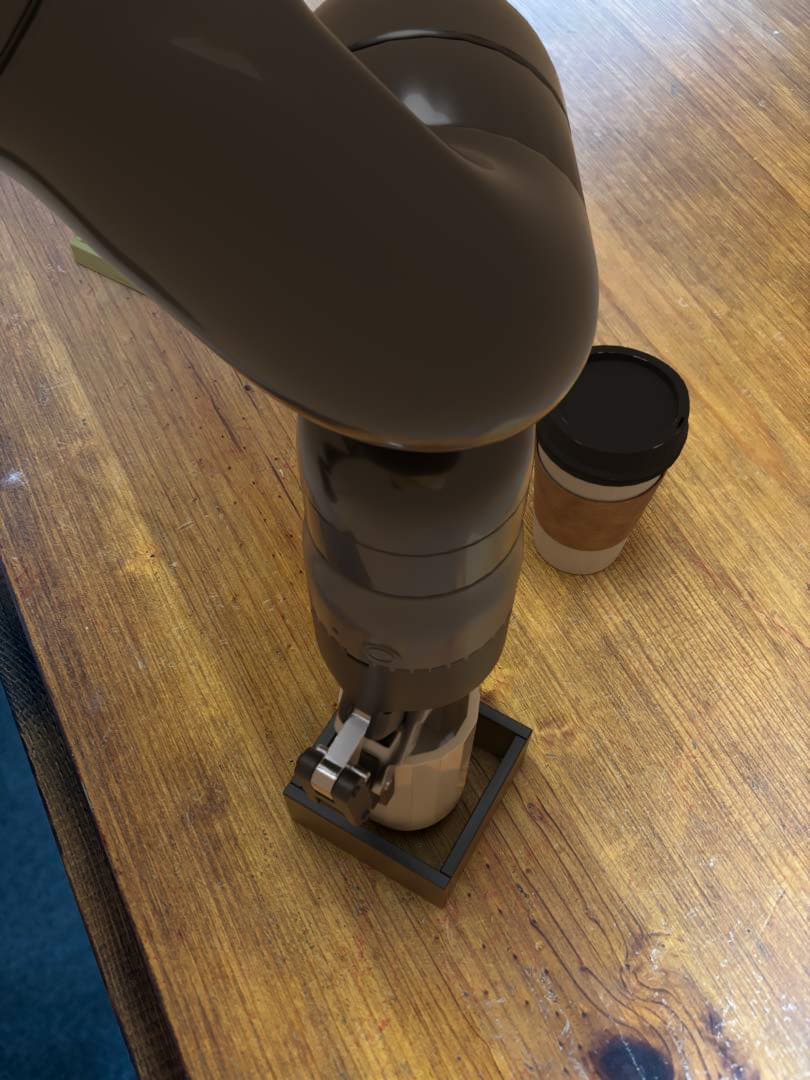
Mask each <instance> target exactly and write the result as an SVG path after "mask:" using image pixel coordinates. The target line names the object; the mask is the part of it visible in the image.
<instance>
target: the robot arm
mask: <svg viewBox="0 0 810 1080" xmlns="http://www.w3.org/2000/svg"><path fill="white" fill-rule="evenodd" d="M562 88H563V87H562V85H561V81H560V78H559V75H558V72H557V70H556V67H555V65H554V63H553V61H552V59H551V57H550V54H549V53H548V50H547V48H546V47H545V45H544V43H543V41H542V40H541V38H540V36H539V34H538V33H537V31H536V30H535V29H534V28H533V26H532V25H531V24H530V23H529V21H528V20H527V19H526V18H525V16H524V15H522V13H521V12H520V11H519V10H518V9H517V8H516V7H514V6H513V5H512V4H511V3H510V2H509V1H508V0H323V2H321V3H320V4H319V5H318V6H317V7H316V8H315V9H314V10H312V9H311V8H310V7H309V6H308V4H307V3H306V2H305V0H0V172H1V173H3V174H5V175H6V176H7V177H9V178H11V179H12V180H14V181H16V182H17V183H18V184H20V186H22V187H23V188H24V189H25V190H27V191H28V192H29V193H30V194H31V195H32V196H34V197H35V198H36V199H37V200H38V201H39V202H40V203H41V204H42V205H44V206H45V207H46V208H47V210H49V211H50V212H52V213H53V214H54V215H55V216H56V218H58V219H59V220H60V221H61V222H62V223H63V224H64V225H65V226H66V227H68V228H69V229H70V230H71V231H72V232H73V233H74V234H75V235H76V236H78V237H79V238H80V239H81V240H82V241H83V242H84V243H85V244H87V245H88V246H89V247H90V248H91V249H92V250H93V251H94V252H95V253H96V254H97V255H98V256H100V257H101V258H102V259H103V260H104V261H105V262H106V263H107V264H108V265H110V266H111V267H112V268H113V269H114V270H115V271H117V272H118V273H119V274H120V275H121V276H123V277H124V278H125V279H126V280H128V281H129V282H130V283H131V284H133V285H134V286H135V287H136V288H138V289H139V290H140V291H141V292H143V293H144V294H145V295H144V294H143V295H144V296H146V297H147V298H149V299H150V300H151V301H152V302H154V304H156V305H157V306H158V307H159V308H160V309H162V311H164V312H165V313H166V314H167V315H169V316H170V317H171V319H173V320H175V322H177V323H178V324H179V325H180V326H182V328H184V329H185V330H186V331H187V332H189V333H190V334H191V335H192V336H193V337H195V338H196V339H197V340H198V341H199V342H200V343H202V345H204V346H205V347H206V348H208V349H209V350H210V351H211V352H212V353H213V354H215V355H216V356H217V357H218V358H219V359H221V360H222V361H223V362H224V363H225V364H227V365H228V366H229V367H230V368H231V369H233V371H235V372H236V373H237V374H239V375H240V376H241V377H243V378H244V379H245V380H247V382H250V383H251V384H252V385H253V386H255V387H256V388H257V389H258V390H260V391H261V392H263V393H264V394H265V395H267V396H268V397H270V398H271V399H273V400H274V401H275V402H277V403H279V404H280V405H282V406H284V407H286V408H288V409H289V410H291V411H292V412H293V413H295V414H296V421H295V424H296V425H295V426H296V427H295V449H296V450H295V451H296V462H297V469H298V475H299V481H300V488H301V494H302V502H303V512H304V513H303V520H302V533H301V534H302V537H301V546H302V556H303V557H302V559H303V565H304V572H305V578H306V584H307V591H308V596H309V603H310V610H311V616H312V622H313V628H314V635H315V640H316V643H317V648H318V650H319V653H320V655H321V657H322V660H323V662H324V663H325V666H326V667H327V668H328V670H329V672H330V673H331V675H332V677H333V678H334V679H335V681H336V682H337V684H338V685H339V686H340V687H341V688H342V690H343V692H342V696H341V699H340V702H339V706H338V705H337V706H338V707H337V708H338V712H337V716H336V719H335V722H334V729H335V731H336V732H337V734H338V735H337V736H336V738H335V740H334V741H333V743H332V744H331V746H330V748H327V747H326V746H324V745H322V744H319V745H318V746H317V747H316V749H314V748H312V747H313V746H308V747H307V748H306V749H305V750H303V752H301V753H300V754H299V756H298V757H297V759H296V761H295V764H296V765H295V767H294V771H293V775H294V774H295V775H296V777H297V779H298V780H299V782H300V784H301V785H302V787H303V789H304V790H305V792H306V793H307V795H308V797H309V798H310V799H311V800H313V801H314V802H316V803H318V804H322V805H323V806H325V807H327V808H328V809H330V810H332V811H333V812H335V813H337V814H338V815H340V816H342V817H343V818H345V819H347V820H348V822H349V823H351V824H353V825H354V826H356V827H359V826H360V825H363V823H365V822H367V820H368V819H369V818H370V817H369V815H370V813H371V811H370V809H371V810H373V809H375V807H376V805H377V804H378V803H380V804H382V805H385V806H387V804H388V803H389V801H390V799H391V798H392V796H393V794H394V770H395V768H396V767H398V766H401V765H402V764H403V762H404V761H405V760H406V758H407V757H408V756H409V754H410V753H411V752H412V750H413V749H414V748H415V746H416V743H417V740H418V738H419V735H420V732H421V729H422V727H423V724H424V721H425V719H426V718H427V717H428V715H429V714H430V713H431V712H432V710H433V709H434V708H438V707H442V706H445V705H448V704H450V703H453V702H455V701H457V700H459V699H461V698H463V697H464V696H466V695H467V694H469V693H470V692H472V691H473V690H474V689H476V688H477V687H478V688H479V686H480V685H481V684H482V683H483V682H484V681H485V680H486V679H488V677H489V675H490V674H491V673H492V672H493V670H494V669H495V667H496V665H497V664H498V662H499V660H500V658H501V656H502V654H503V651H504V649H505V648H504V647H505V644H506V641H507V636H508V632H509V631H508V630H509V626H510V622H511V616H512V612H513V608H514V603H515V598H516V593H517V590H518V589H517V588H518V583H519V579H520V574H521V570H522V565H523V560H524V551H525V523H524V516H525V511H526V507H527V502H528V498H529V493H530V487H531V483H532V478H533V474H534V461H535V452H536V423H537V422H538V421H539V420H541V419H542V418H544V417H545V416H546V415H547V414H548V413H549V412H551V411H552V410H553V409H554V408H555V407H556V406H557V405H558V404H559V402H560V401H561V400H562V399H563V398H564V397H565V395H566V394H567V393H568V392H569V390H570V389H571V388H572V386H573V385H574V383H575V382H576V381H577V379H578V378H579V376H580V374H581V372H582V370H583V368H584V366H585V364H586V362H587V359H588V357H589V354H590V351H591V349H592V346H594V341H595V338H596V333H597V328H598V322H599V315H600V314H599V313H600V312H599V310H600V276H599V266H598V260H597V255H596V249H595V244H594V239H593V234H592V229H591V225H590V219H589V215H588V210H587V205H586V201H585V196H584V190H583V184H582V179H581V176H580V170H579V165H578V160H577V156H576V151H575V146H574V141H573V137H572V130H571V129H572V128H571V124H570V120H569V119H570V118H569V114H568V107H567V104H566V99H565V95H564V92H563V89H562ZM340 687H339V688H340ZM402 725H404V726H403V729H402V732H399V731H397V730H396V729H398V728H399V727H401V726H402ZM362 748H364V749H365V750H367V751H369V752H370V753H372V754H374V755H376V756H377V757H378V759H379V762H378V761H377V760H375V759H373V758H371V757H370V756H368V755H366V754H365V753H363V752H361V749H362Z"/></svg>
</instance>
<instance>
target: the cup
mask: <svg viewBox="0 0 810 1080" xmlns="http://www.w3.org/2000/svg"><path fill="white" fill-rule="evenodd" d="M342 692H343V690H342V688H341V687H339V692H338V698H337V706H339V702H340V699H341V696H342ZM480 699H481V691H480V688H479V686H478V687H477V688H476V689H474V690H473V691H472V692H470V693H469V694H467V695H466V696H464V697H463V698H461V699H459V700H457V701H455V702H453V703H450V704H448V705H445V706H442V707H438V708H434V709H433V710H432V712H431V713H430V714H429V715H428V717H427V718H426V719H425V721H424V724H423V727H422V729H421V732H420V735H419V738H418V740H417V743H416V746H415V748H414V749H413V750H412V752H411V753H410V754H409V756H408V757H407V758H406V760H405V761H404V762H403V764H402V765H401V766H398V767H396V768H395V770H394V794H393V796H392V798H391V799H390V801H389V803H388V804H387V806H385V805H382V804H380V803H378V804H377V805H376V807H375V809H373V810H371V809H370V811H371V813H370V815H369V817H368V818H369V819H370V820H373V821H374V822H375V823H377V824H379V825H381V826H383V827H385V828H388V829H392V830H397V831H416V830H422V829H426V828H427V827H431V826H433V825H435V824H437V823H438V822H440V821H441V820H443V819H444V818H446V816H447V815H449V814H450V813H451V811H453V809H454V808H455V807H456V805H457V803H458V802H459V800H460V798H461V796H462V793H463V791H464V789H465V786H466V780H467V777H468V771H469V766H470V761H471V760H470V759H471V755H472V751H473V750H472V749H473V745H474V743H473V740H474V734H475V729H476V724H477V719H478V710H479V701H481V700H480ZM403 726H404V725H402V726H401V727H399V728H398V729H396V730H397V731H399V732H402V729H403ZM361 752H363V753H365V754H366V755H368V756H370V757H371V758H373V759H375V760H377V761H378V762H379V759H378V757H377V756H376V755H374V754H372V753H370V752H369V751H367V750H365V749H364V748H362V749H361Z"/></svg>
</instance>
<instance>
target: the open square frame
mask: <svg viewBox="0 0 810 1080" xmlns="http://www.w3.org/2000/svg"><path fill="white" fill-rule="evenodd" d="M337 712H338V707H337V708H336V710H335V712H334V713H333V714H332V716H331V717H330V719H329V721H327V724H326V725H325V727H324V728H323V729H322V731H321V733H320V734H319V736H318V738H317V739H316V740H315V742H314V743H313V745H312V746H311V747H312V748H314V749H316V747H317V746H318V745H319V744H322V745H324V746H326V747H327V748H330V746H331V744H332V743H333V741H334V740H335V738H336V736H337V735H338V734H337V732H336V731H335V729H334V722H335V719H336V716H337ZM533 731H534V729H533V728H531V727H529V726H528V725H526V724H524V723H522V722H520V721H518V720H516V719H514V718H513V717H511V716H509V715H507V714H505V713H504V712H502V711H499V710H498V709H496V708H494V707H492V706H490V705H489V704H487V703H485V702H483V701H481V700H480V701H479V710H478V719H477V724H476V729H475V734H474V740H473V745H474V744H475V745H476V746H478V747H479V748H481V749H483V750H485V751H487V752H488V753H491V754H493V755H494V756H496V757H497V758H500V759H501V760H500V762H499V764H498V765H497V767H496V769H495V771H494V772H493V774H492V776H491V778H490V780H489V781H488V783H487V785H486V787H485V789H484V791H483V793H482V794H481V796H480V797H479V799H478V801H477V803H476V805H475V807H474V808H473V811H472V812H471V814H470V816H469V817H468V819H467V820H466V823H465V825H464V827H463V828H462V829H461V832H460V834H459V835H458V837H457V839H456V840H455V842H454V844H453V846H452V848H451V850H450V851H449V854H448V855H447V857H446V859H445V861H444V862H443V864H442V866H441V868H440V869H439V870H438V869H436V868H435V867H433V866H431V865H430V864H428V863H426V862H424V861H423V860H422V859H420V858H418V857H416V856H415V855H413V854H411V853H409V852H408V851H407V850H404V849H403V848H401V847H400V846H398V845H396V844H394V843H393V842H391V841H389V840H387V839H386V838H384V837H382V836H381V835H380V834H377V833H376V832H375V831H373V830H371V829H370V828H367V827H366V826H364V825H363V824H361V825H360V826H359V827H356V826H354V825H353V824H351V823H349V822H348V820H347V819H345V818H343V817H342V816H340V815H338V814H337V813H335V812H333V811H332V810H330V809H328V808H327V807H325V806H323V805H322V804H318V803H316V802H314V801H313V800H311V799H310V798H309V797H308V795H307V793H306V792H305V790H304V789H303V787H302V785H301V784H300V782H299V780H298V779H297V777H296V775H295V774H294V773H293V775H292V777H291V779H290V780H289V782H288V783H287V785H286V787H285V788H284V790H283V791H282V795H283V799H284V801H285V804H286V807H287V810H288V813H289V816H290V819H291V820H293V821H295V822H296V823H298V824H300V825H301V826H303V827H304V828H306V829H308V830H309V831H311V832H313V833H314V834H316V835H318V836H319V837H321V838H322V839H324V840H326V841H328V842H329V843H331V844H333V846H336V847H338V848H339V849H341V850H342V851H344V852H346V853H347V854H349V855H351V856H352V857H354V858H356V859H357V860H359V861H361V862H362V863H364V864H365V865H367V866H368V867H370V868H372V869H374V870H375V871H377V872H379V873H380V874H382V875H384V876H385V877H387V878H388V879H391V880H392V881H393V882H395V883H397V884H399V885H400V886H402V887H404V888H405V889H407V890H409V891H410V892H412V893H414V894H415V895H417V896H419V898H422V899H424V900H425V901H426V902H428V903H430V904H431V905H434V906H435V907H437V908H438V909H440V910H442V909H443V908H444V907H445V905H446V903H447V901H448V899H449V898H450V895H451V894H452V892H453V890H454V889H455V886H456V884H457V883H458V881H459V879H460V878H461V876H462V874H463V872H464V870H465V868H466V866H467V864H468V862H469V861H470V859H471V857H472V855H473V853H474V852H475V850H476V848H477V846H478V844H479V843H480V841H481V839H482V837H483V835H484V833H485V832H486V830H487V828H488V827H489V825H490V823H491V821H492V819H493V817H494V815H495V813H496V811H497V810H498V808H499V806H500V804H501V803H502V801H503V799H504V797H505V795H506V793H507V792H508V789H509V788H510V787H511V784H512V782H513V781H514V779H515V777H516V775H517V773H518V771H519V769H520V768H521V766H522V764H523V762H524V761H525V758H526V755H527V752H528V748H529V746H530V745H529V744H530V741H531V738H532V734H533Z"/></svg>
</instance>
